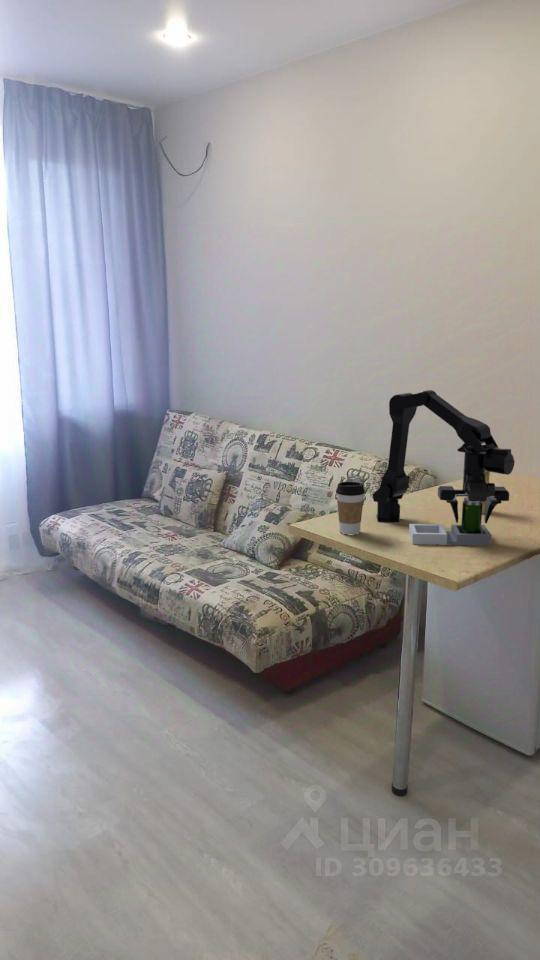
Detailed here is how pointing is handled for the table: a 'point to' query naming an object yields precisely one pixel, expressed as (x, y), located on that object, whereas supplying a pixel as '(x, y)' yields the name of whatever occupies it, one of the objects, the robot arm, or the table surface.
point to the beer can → (471, 516)
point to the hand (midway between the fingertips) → (471, 522)
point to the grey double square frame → (447, 535)
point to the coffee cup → (350, 506)
